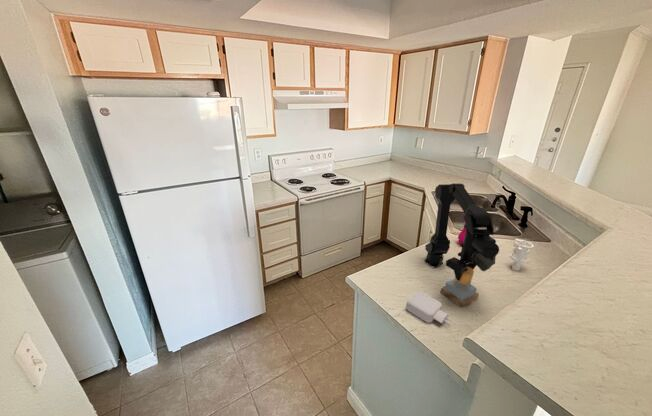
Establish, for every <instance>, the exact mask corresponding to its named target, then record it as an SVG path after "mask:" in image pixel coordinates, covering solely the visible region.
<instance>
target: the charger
mask: <svg viewBox="0 0 652 416" xmlns="http://www.w3.org/2000/svg"><path fill="white" fill-rule="evenodd" d="M442 308H443V304H442V303H441V302H440V301H438V300H436V299H435V298H433V297H431V296H429V295H428V294H425V292H422V291H420V290H418V291H417V292H415V293H414V294H413V295H412V296H410V298H409V299H408V300H407V301H406V305H405V310H406V311H408V312H409V313H411V314H413V315H414V316H416V317H418V318H419V319H421V320H422V321H424V322H425V323H428V324H429V323H432V322H434V321H436V322H439V323H440V324H444V323H445V322H446V323H448V324H451V322H453V319H451V318H450V317H449V313H447V312H445V311H443V310H442Z"/></svg>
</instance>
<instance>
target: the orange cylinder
mask: <svg viewBox="0 0 652 416" xmlns="http://www.w3.org/2000/svg"><path fill="white" fill-rule="evenodd" d="M466 269H468V270H467V271H465V272H463V274H462V277H461V279H460V281H458V280H457V279H456V276H455V275H454V278H453V279H455V280H456V281H457V282H458V283H460V284H464V285H468V284H471V283H472V279H473V277H474V274H475V271H474V270H475V269H474V270H473V269H472V268H471V267H469V266H467V268H466Z"/></svg>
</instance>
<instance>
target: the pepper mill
mask: <svg viewBox="0 0 652 416" xmlns="http://www.w3.org/2000/svg"><path fill="white" fill-rule="evenodd" d="M464 225H466V223H465V220H464V219H463V229H462V230H461V231H460V232H459V233H458V237H457V238H458V241H457V246H459V247H461V246H460V244H461V243H463V241H464V237H465V233H466V228H465V227H464Z"/></svg>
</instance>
